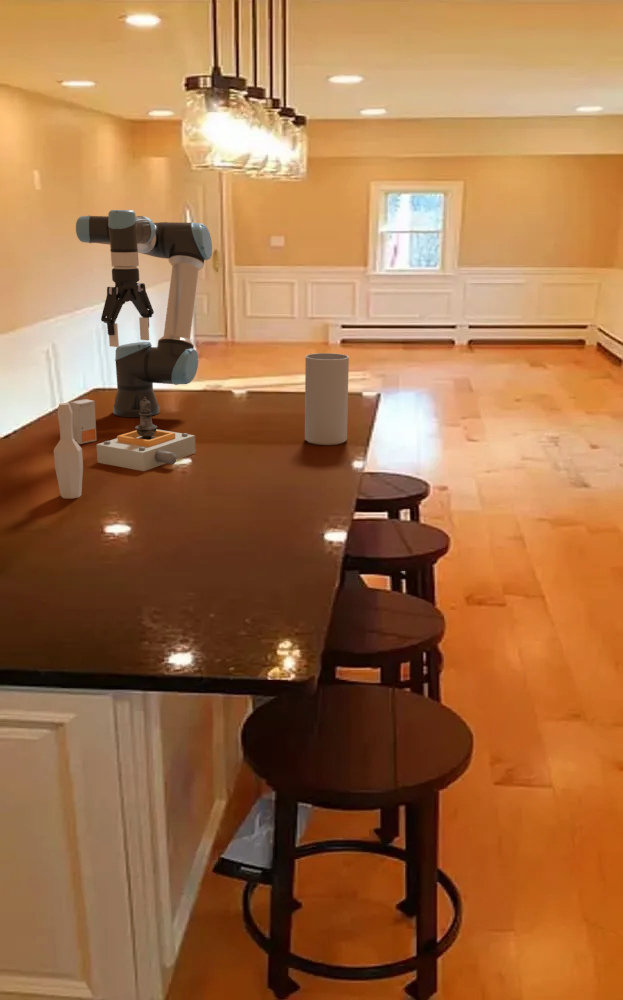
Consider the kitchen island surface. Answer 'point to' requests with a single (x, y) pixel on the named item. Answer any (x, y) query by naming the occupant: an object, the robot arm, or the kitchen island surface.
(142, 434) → the chess piece
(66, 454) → the low poly bottle
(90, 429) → the skincare box
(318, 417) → the cylinder vase
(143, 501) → the kitchen island surface
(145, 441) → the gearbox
